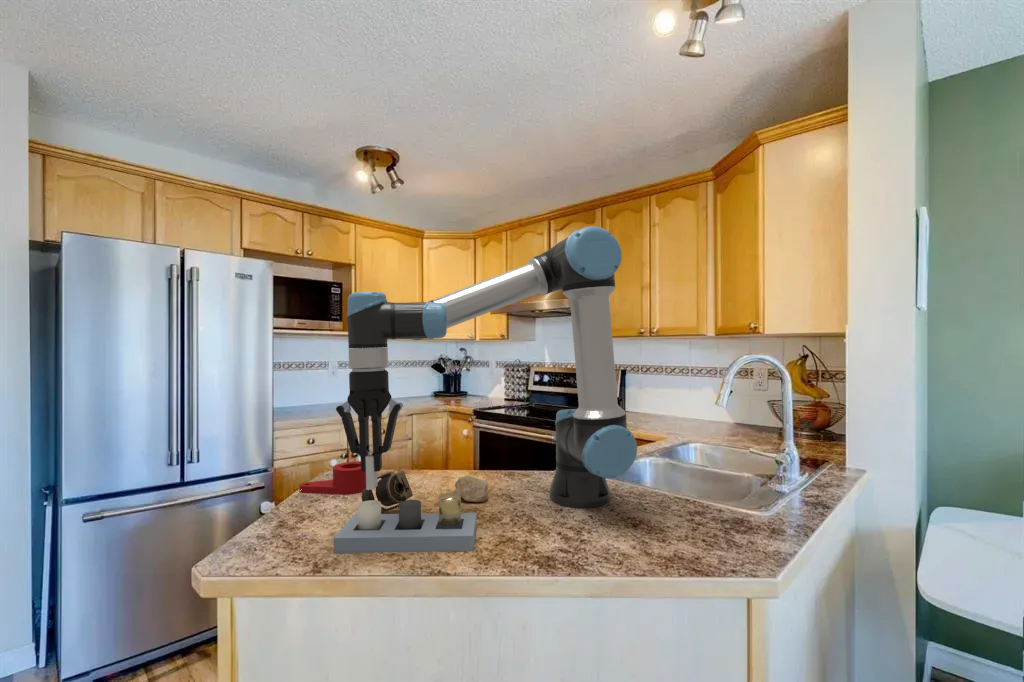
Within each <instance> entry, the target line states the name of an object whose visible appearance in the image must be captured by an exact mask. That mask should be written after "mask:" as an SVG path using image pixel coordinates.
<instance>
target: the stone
mask: <svg viewBox="0 0 1024 682" xmlns="http://www.w3.org/2000/svg"><path fill="white" fill-rule="evenodd" d="M454 486H455V487H454V488H455V490H454V493H457V494H460V495H461V499H463V500H464V501H465V502H471V503H480V502H481V503H484V502H486V501H487V500H488V499H489V495H488V490H489V489H488V484H487V482H486V481H485V480H483V479H480V478H477V477H473V476H468V475H464V476H460V477H459V478H458V479H457V480H456V481H455V483H454Z"/></svg>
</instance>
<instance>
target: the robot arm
mask: <svg viewBox="0 0 1024 682" xmlns="http://www.w3.org/2000/svg"><path fill="white" fill-rule="evenodd" d="M622 256H623V255H622V249H621V246H620V243H619V241H618V240H617V238H616V237H615V236H614V234H612V233H611V232H609V230H607V229H605V228H603V227H600V226H595V225H591V226H585V227H583V228H579V229H577V230H575V231H573V232H572V233H571V234H570V235H569V236H567V237H566V238H564V239H563V240H561V241H559V242H557V243H556V244H555V245H553V246H552V247H551V248H549V249H548V250H546V251H544V252H543V253H541V254H539V255H536V256H533V257H531V258H530V259H529V260H528V262H527V264H524V265H521V266H518V267H516V268H513V269H511V270H508V271H505V272H503V273H500V274H498V275H495V276H493V277H489V278H487V279H485V280H481V281H479V282H477V283H474V284H471V285H469V286H466V287H462V288H461V289H457V290H455V291H453V292H450V293H447V294H444V295H443V296H439V297H436V298H433V299H432V300H429V301H421V302H418V301H417V302H391V301H388V299H387V296H386V295H387V294H386V293H384V292H381V291H380V292H379V291H358V292H357V291H356V292H355V291H354V292H352V293H351V294H350V295H348V297H347V314H346V319H347V322H346V323H347V337H348V338H347V339H348V340H347V342H348V346H347V347H348V368H349V369H351V371H350V372H349V373H348V376H349V377H348V381H349V394H348V396H347V399H346V400H347V401H345V402H344V403H342V404H341V405H338V406H336V408H335V411H336V412H337V414H339V416H340V418H341V421H342V424H343V429H344V432H345V436H346V439H347V443H348V446H349V447H348V448H349V450H350V453H352V454H356V455H359V457H360V461H361V471H362V472H366V490H372V491H375V490H376V487H377V485H378V484H377V483H378V479H377V477H378V472H380V471H381V470H382V467H383V461H382V460H383V459H382V456H383V455H382V454H384V453H387V452H388V451H389V450H390V449H391V448H392V443H393V439H394V434H395V429H396V425H397V421H398V415H399V413H400V411H401V410H402V408H403V403H402V402H397V401H396V400H394V399H392V395H391V392H390V391H389V390H390V388H389V371H388V370H387V369H386V368H388V367H389V354H388V353H389V351H388V349H389V347H388V340H413V341H419V340H426V339H428V340H435V339H442V338H444V337H446V335H447V329H449V328H453V327H455V326H457V325H459V324H462V323H465V322H467V321H470V320H473V319H475V318H477V317H480V316H483V315H485V314H489V313H490V312H493V311H496V310H499V309H501V308H503V307H506V306H509V305H511V304H514V303H516V302H519V301H522V300H524V299H526V298H530V297H532V296H535V295H538V294H540V295H543V296H547V295H548V294H551V293H553V292H557V291H561V290H562V295H564V297H566V298H567V299H568V300H569V303H570V313H571V314H570V316H571V326H572V336H573V337H572V338H573V339H572V340H573V352H574V362H575V374H576V375H575V377H576V386H577V387H576V388H577V398H578V400H577V402H578V406H577V407H578V408H574V409H573V408H571V409H570V408H569V409H560V410H558V411H557V412H556V414H555V415H556V416H555V422H554V425H555V453H556V454H555V460H556V461H555V463H556V467H555V472H554V475H553V479H552V482H551V485H550V487H549V488H550V489H549V500H550V501H551V503H554V504H556V505H558V506H561V507H564V508H571V509H579V510H580V509H587V510H588V509H596V508H601V507H604V506H606V505H608V504H610V502H611V492H610V488H609V485H608V482H607V479H613V478H617V477H620V476H622V475H624V474H625V473H626V472H627V471H629V469H630V468H631V466H633V464H634V463H635V461H636V457H637V454H638V444H637V440H636V438H635V436H634V434H633V433H632V432H631V431H630V430H629V429H628V428H627V427H628V426H627V425H628V424H627V415H626V411H625V409H623V408H622V407H621V406H620V405H619V404H618V391H617V378H616V367H615V354H614V341H613V329H612V317H611V304H610V296H611V295H612V294H613V292H614V291H615V289H616V279H615V278H616V277H615V273H616V272H617V270H618V269H619V267H620V265H621V262H622ZM388 405H389V407H388ZM387 407H388V411H390V413H389V415H388V418H387V424H386V428H385V434H384V439H383V435H382V431H383V430H382V417H383V415H382V414H383V413H384V411H385V410H386V408H387ZM351 408H352V409H351ZM352 410H353V411H354V412H355V414H357V421H358V434H357V431H356V427H355V423H354V419H353V416H352V413H351V411H352ZM370 419H371V420H370ZM369 421H371V430H372V431H371V433H372V434H371V435H372V436H371V437H372V453H369V452H371V449H370V429H369V427H370V426H369V425H370V424H369ZM358 436H359V438H358Z"/></svg>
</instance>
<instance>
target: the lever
mask: <svg viewBox="0 0 1024 682" xmlns="http://www.w3.org/2000/svg"><path fill="white" fill-rule="evenodd" d="M365 488H366V472H362V471H361V460H359V461H357V460H356V461H345V462H341V463H338V464H335V465H334V466H333V467H332V479H326V480H317V481H307V482H302V483H300V484H299V493H300V494H313V495H316V494H317V495H341V496H343V495H344V496H347V495H357V494H362V490H363V489H365ZM301 489H302V490H301ZM300 490H301V491H300Z"/></svg>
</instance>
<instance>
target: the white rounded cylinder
mask: <svg viewBox="0 0 1024 682" xmlns="http://www.w3.org/2000/svg"><path fill="white" fill-rule="evenodd" d="M381 507H382V504H381V502H380V501H378V500H377V499H375V500H369V501H364V502H362V501H361V502H360V503H358V505H357V510H358V511H357V514H358V531H360V530H380V529H381V514H382V511H381Z"/></svg>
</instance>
